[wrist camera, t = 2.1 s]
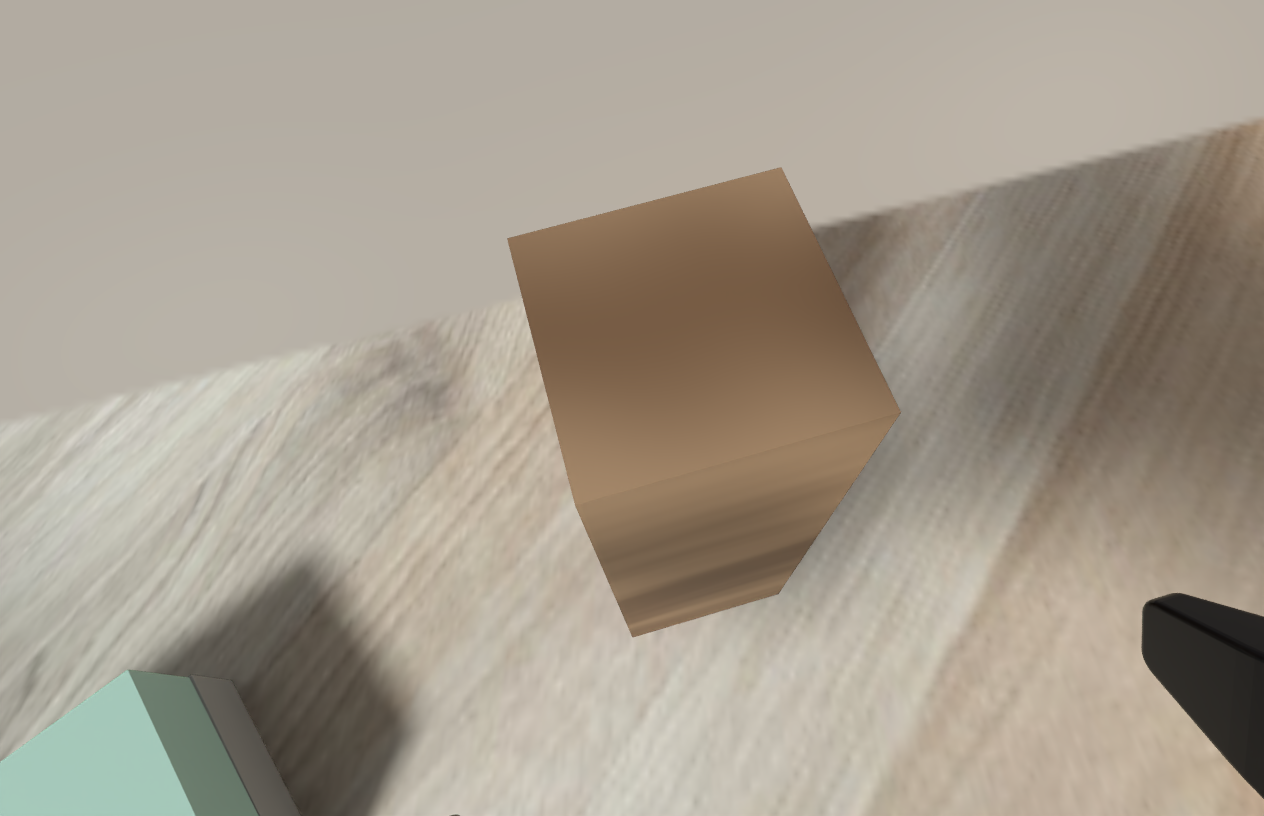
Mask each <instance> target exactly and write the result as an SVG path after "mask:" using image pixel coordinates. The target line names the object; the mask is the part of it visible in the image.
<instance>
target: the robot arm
mask: <svg viewBox="0 0 1264 816" xmlns="http://www.w3.org/2000/svg"><path fill="white" fill-rule="evenodd" d="M1142 654H1143V658H1144V660H1145V663H1146V665H1147V666H1148V668H1149V669H1150V671H1151V672H1152V673H1153V674H1154V676H1155V677H1156V678H1157V679H1158V680H1159V681H1160V683H1161V684H1162V685H1163V686H1164V687H1165V688H1166V690H1167V691H1168V692H1169V693H1170V694H1171V695H1172V697H1173V698H1174V699H1175V700H1176V701H1177V702H1178V704H1179V705H1180V706H1181V707H1182V708H1183V709H1184V710H1185V712H1186V713H1187V714H1188V715H1189V716H1190V717H1191V719H1192V720H1193V721H1194V722H1195V723H1196V724H1197V726H1198V727H1199V728H1200V729H1201V730H1202V731H1203V733H1204V734H1205V735H1206V736H1207V737H1208V738H1209V740H1210V741H1211V742H1212V743H1213V744H1214V745H1215V747H1216V748H1217V749H1218V750H1219V751H1220V752H1221V754H1222V755H1223V756H1224V757H1225V758H1226V759H1227V760H1228V762H1229V763H1230V764H1231V765H1232V766H1233V767H1234V768H1235V769H1236V770H1237V771H1238V773H1239V774H1240V775H1241V776H1242V777H1243V778H1244V779H1245V780H1246V781H1247V782H1248V783H1249V784H1250V785H1251V786H1252V787H1253V788H1254V789H1255V790H1256V791H1257V792H1258V793H1259V795H1260V796H1261V797H1262V798H1263V799H1264V617H1263V616H1259V615H1256V614H1252V613H1249V612H1245V611H1242V610H1238V609H1235V608H1231V607H1228V606H1224V605H1221V604H1217V603H1214V602H1210V601H1207V600H1203V599H1200V598H1196V597H1193V596H1189V595H1186V594H1182V593H1172V594H1168V595H1165V596H1162V597H1159V598H1155V599H1152V600H1149V601H1148V602H1146V603H1145V605H1144V607H1143V611H1142ZM451 816H460V815H451Z"/></svg>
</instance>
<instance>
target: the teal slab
mask: <svg viewBox="0 0 1264 816" xmlns="http://www.w3.org/2000/svg"><path fill="white" fill-rule="evenodd" d="M0 816H258V814H257V812H256V810H255V808H254V806H253V804H252V802H251V800H250V798H249V796H248V794H247V792H246V790H245V788H244V786H243V784H242V782H241V780H240V778H239V776H238V774H237V772H236V770H235V768H234V766H233V764H232V762H231V760H230V758H229V756H228V754H227V752H226V750H225V748H224V746H223V744H222V742H221V740H220V738H219V736H218V734H217V732H216V730H215V728H214V726H213V724H212V722H211V720H210V718H209V716H208V714H207V712H206V710H205V708H204V706H203V704H202V702H201V700H200V698H199V696H198V694H197V692H196V690H195V688H194V686H193V684H192V682H191V680H190V678H189V677H182V676H174V675H166V674H159V673H151V672H143V671H135V670H126V671H125V672H123V673H122V674H121V675H119V676H118V677H117V678H115V679H114V680H112V681H111V682H110V683H108V684H107V685H106V686H104V687H103V688H101V689H100V690H99V691H97V692H96V693H95V694H93V695H92V696H90V697H89V698H88V699H86V700H85V701H84V702H82V703H81V704H79V705H78V706H77V707H75V708H74V709H73V710H71V711H70V712H68V713H67V714H66V715H64V716H63V717H61V718H60V719H59V720H57V721H56V722H55V723H53V724H52V725H50V726H49V727H48V728H46V729H45V730H44V731H42V732H41V733H39V734H38V735H37V736H35V737H34V738H33V739H31V740H30V741H28V742H27V743H26V744H24V745H23V746H22V747H20V748H19V749H17V750H16V751H15V752H13V753H12V754H11V755H9V756H8V757H6V758H5V759H4V760H2V761H1V762H0Z"/></svg>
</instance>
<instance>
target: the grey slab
mask: <svg viewBox="0 0 1264 816" xmlns="http://www.w3.org/2000/svg"><path fill="white" fill-rule="evenodd" d="M188 677H189V678H190V680H191V682H192V684H193V686H194V688H195V690H196V692H197V694H198V696H199V698H200V700H201V702H202V704H203V706H204V708H205V710H206V712H207V714H208V716H209V718H210V720H211V722H212V724H213V726H214V728H215V730H216V732H217V734H218V736H219V738H220V740H221V742H222V744H223V746H224V748H225V750H226V752H227V754H228V756H229V758H230V760H231V762H232V764H233V766H234V768H235V770H236V772H237V774H238V776H239V778H240V780H241V782H242V784H243V786H244V788H245V790H246V792H247V794H248V796H249V798H250V800H251V802H252V804H253V806H254V808H255V810H256V812H257V814H258V816H301V815H300V813H299V811H298V809H297V807H296V805H295V803H294V801H293V800H292V798H291V796H290V794H289V792H288V790H287V788H286V786H285V784H284V782H283V780H282V778H281V776H280V774H279V772H278V770H277V768H276V766H275V764H274V762H273V760H272V758H271V756H270V754H269V753H268V751H267V749H266V747H265V745H264V743H263V741H262V739H261V737H260V735H259V733H258V731H257V729H256V727H255V725H254V723H253V721H252V719H251V717H250V715H249V713H248V711H247V709H246V708H245V706H244V704H243V702H242V700H241V698H240V696H239V694H238V692H237V690H236V688H235V686H234V684H233V682H232V680H227V679H219V678H212V677H205V676H198V675H190V676H188Z"/></svg>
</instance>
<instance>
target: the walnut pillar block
mask: <svg viewBox="0 0 1264 816" xmlns="http://www.w3.org/2000/svg"><path fill="white" fill-rule="evenodd" d="M508 243H509V247H510V251H511V255H512V259H513V263H514V267H515V271H516V275H517V279H518V282H519V286H520V290H521V294H522V298H523V302H524V306H525V310H526V314H527V318H528V322H529V326H530V330H531V334H532V338H533V342H534V345H535V349H536V353H537V357H538V361H539V365H540V369H541V373H542V377H543V381H544V385H545V389H546V393H547V397H548V400H549V404H550V408H551V412H552V416H553V420H554V424H555V428H556V432H557V436H558V440H559V444H560V448H561V452H562V455H563V459H564V463H565V467H566V471H567V475H568V479H569V483H570V487H571V491H572V495H573V499H574V503H575V506H576V508H577V511H578V513H579V515H580V517H581V520H582V522H583V524H584V527H585V529H586V531H587V534H588V536H589V538H590V540H591V543H592V545H593V547H594V550H595V552H596V554H597V557H598V559H599V561H600V564H601V566H602V568H603V570H604V573H605V575H606V577H607V580H608V582H609V584H610V587H611V589H612V591H613V593H614V596H615V598H616V600H617V603H618V605H619V607H620V610H621V612H622V614H623V616H624V619H625V621H626V623H627V626H628V628H629V630H630V633H631V635H632V637H636V636H639V635H642V634H646V633H649V632H652V631H656V630H659V629H662V628H666V627H669V626H672V625H676V624H679V623H682V622H686V621H689V620H692V619H696V618H699V617H702V616H706V615H709V614H713V613H716V612H719V611H723V610H726V609H729V608H733V607H736V606H739V605H743V604H746V603H749V602H753V601H756V600H759V599H763V598H766V597H769V596H773V595H776V594H779V592H780V591H781V589H782V588H783V586H784V585H785V583H786V582H787V580H788V579H789V577H790V576H791V574H792V573H793V571H794V570H795V568H796V567H797V565H798V564H799V563H800V561H801V560H802V558H803V557H804V555H805V554H806V552H807V551H808V549H809V548H810V546H811V545H812V543H813V542H814V540H815V539H816V537H817V536H818V534H819V533H820V531H821V530H822V528H823V527H824V525H825V524H826V523H827V521H828V520H829V518H830V517H831V515H832V514H833V512H834V511H835V509H836V508H837V506H838V505H839V503H840V502H841V500H842V499H843V497H844V496H845V494H846V493H847V491H848V490H849V488H850V487H851V485H852V484H853V483H854V481H855V480H856V478H857V477H858V475H859V474H860V472H861V471H862V469H863V468H864V466H865V465H866V463H867V462H868V460H869V459H870V457H871V456H872V454H873V453H874V451H875V450H876V448H877V447H878V445H879V444H880V443H881V441H882V440H883V438H884V437H885V435H886V434H887V432H888V431H889V429H890V428H891V426H892V425H893V423H894V422H895V420H896V419H897V417H898V416H899V414H900V413H901V412H900V410H899V407H898V405H897V403H896V401H895V399H894V397H893V395H892V393H891V391H890V389H889V387H888V385H887V383H886V381H885V379H884V377H883V375H882V373H881V371H880V369H879V367H878V364H877V362H876V360H875V358H874V356H873V354H872V352H871V350H870V348H869V346H868V344H867V342H866V340H865V338H864V336H863V334H862V332H861V330H860V328H859V326H858V324H857V321H856V319H855V317H854V315H853V313H852V311H851V309H850V307H849V305H848V303H847V301H846V299H845V297H844V295H843V293H842V291H841V289H840V287H839V285H838V283H837V281H836V278H835V276H834V274H833V272H832V270H831V268H830V266H829V264H828V262H827V260H826V258H825V256H824V254H823V252H822V250H821V248H820V246H819V244H818V242H817V240H816V238H815V235H814V233H813V231H812V229H811V227H810V225H809V223H808V221H807V219H806V217H805V215H804V213H803V211H802V209H801V207H800V205H799V203H798V201H797V199H796V197H795V195H794V193H793V190H792V188H791V186H790V184H789V182H788V180H787V179H786V176H785V174H784V172H783V170H782V168H777V169H773V170H769V171H765V172H761V173H758V174H754V175H750V176H746V177H742V178H738V179H734V180H730V181H727V182H723V183H719V184H715V185H711V186H707V187H703V188H700V189H696V190H692V191H688V192H684V193H680V194H677V195H673V196H669V197H665V198H661V199H657V200H653V201H650V202H646V203H642V204H638V205H634V206H630V207H627V208H623V209H619V210H615V211H611V212H607V213H604V214H600V215H596V216H592V217H588V218H584V219H580V220H576V221H573V222H569V223H565V224H561V225H557V226H554V227H549V228H546V229H542V230H538V231H534V232H530V233H526V234H523V235H519V236H515V237H511V238H508Z"/></svg>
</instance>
